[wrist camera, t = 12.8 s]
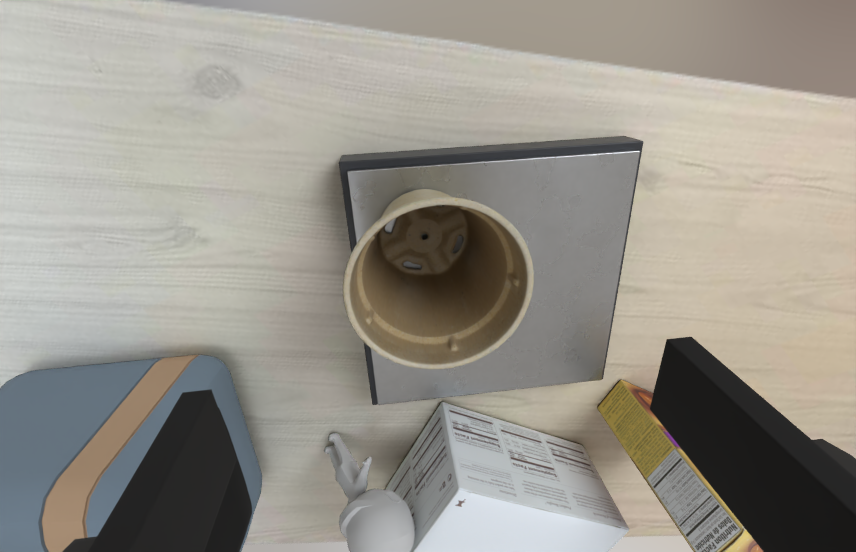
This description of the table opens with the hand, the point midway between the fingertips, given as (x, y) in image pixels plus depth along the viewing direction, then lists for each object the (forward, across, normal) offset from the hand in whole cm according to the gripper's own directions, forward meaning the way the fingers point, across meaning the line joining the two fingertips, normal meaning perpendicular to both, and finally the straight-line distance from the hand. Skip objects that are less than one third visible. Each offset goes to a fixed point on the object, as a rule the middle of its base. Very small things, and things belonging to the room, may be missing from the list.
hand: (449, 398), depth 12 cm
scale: (+20, +6, -6) cm, 22 cm away
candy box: (+20, +22, -22) cm, 37 cm away
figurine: (+20, -8, -22) cm, 31 cm away
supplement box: (+20, +6, -28) cm, 35 cm away
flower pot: (+17, +1, -1) cm, 17 cm away
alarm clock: (+20, -23, -18) cm, 36 cm away
